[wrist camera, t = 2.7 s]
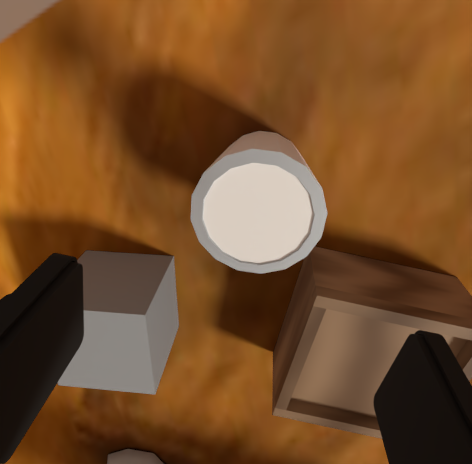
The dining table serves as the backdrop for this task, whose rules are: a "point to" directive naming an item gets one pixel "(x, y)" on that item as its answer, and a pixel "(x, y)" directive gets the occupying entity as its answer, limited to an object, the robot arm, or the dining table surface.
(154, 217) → the dining table surface
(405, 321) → the walnut tray
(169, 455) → the dining table surface
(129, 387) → the slate block
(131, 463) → the flask
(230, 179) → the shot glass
